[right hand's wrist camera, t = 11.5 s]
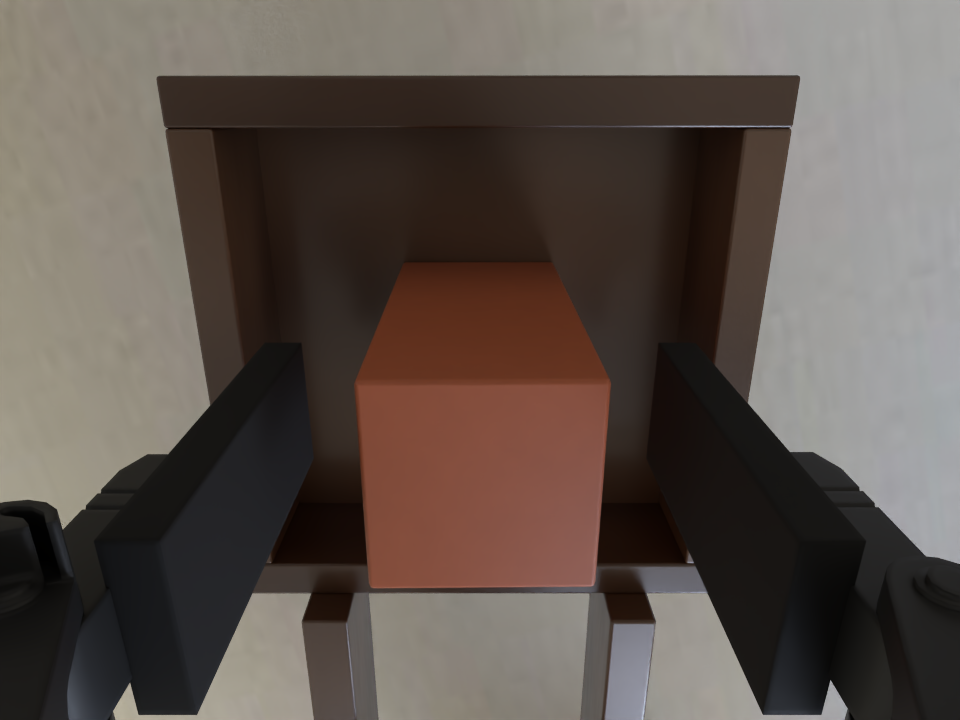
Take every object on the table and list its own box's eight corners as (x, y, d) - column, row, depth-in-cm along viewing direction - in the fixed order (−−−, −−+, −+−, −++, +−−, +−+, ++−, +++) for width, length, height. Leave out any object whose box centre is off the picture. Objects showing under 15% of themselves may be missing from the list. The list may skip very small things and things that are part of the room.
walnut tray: (217, 79, 17) (130, 74, 12) (739, 79, 17) (825, 73, 12) (317, 827, 27) (287, 962, 23) (641, 827, 27) (671, 963, 23)
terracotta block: (402, 261, 18) (353, 380, 10) (553, 261, 18) (612, 380, 10) (408, 398, 19) (368, 590, 12) (547, 398, 19) (595, 588, 12)
